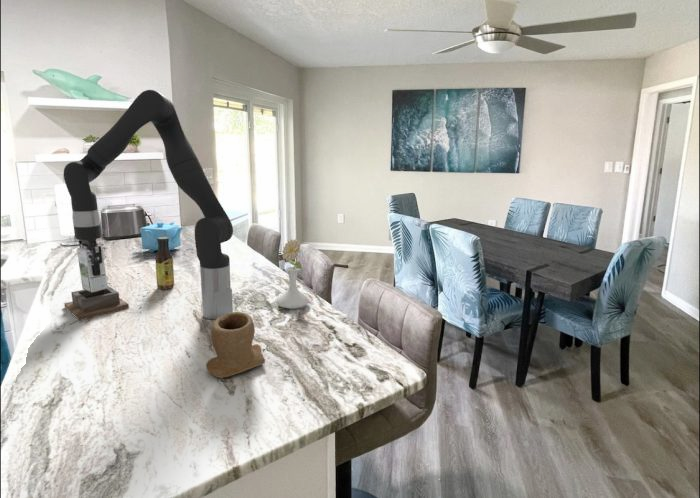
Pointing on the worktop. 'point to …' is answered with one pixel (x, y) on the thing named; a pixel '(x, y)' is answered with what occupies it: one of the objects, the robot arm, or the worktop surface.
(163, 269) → the sauce bottle
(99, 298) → the socket holder
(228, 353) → the stone cup
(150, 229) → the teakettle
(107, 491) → the worktop surface
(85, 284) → the syrup box
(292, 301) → the flower in vase
